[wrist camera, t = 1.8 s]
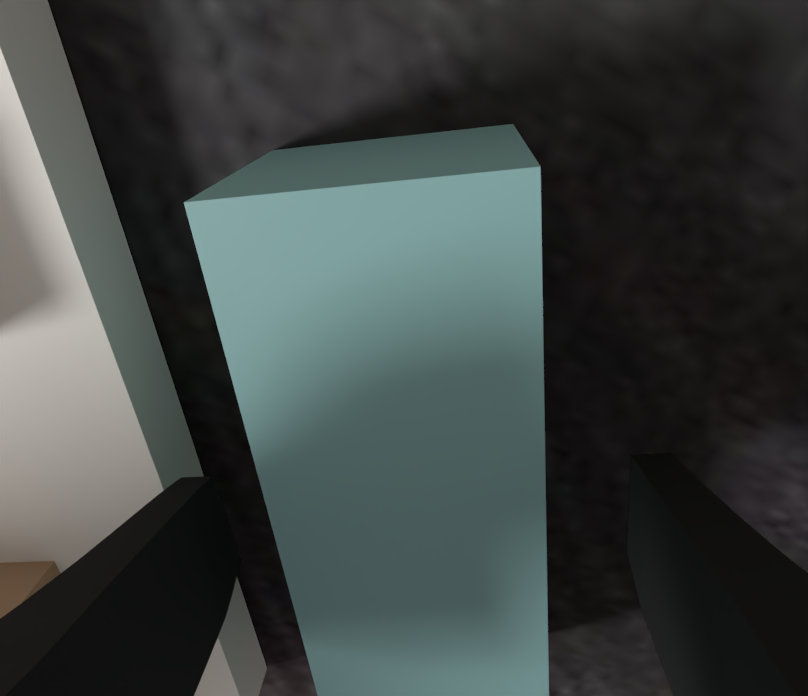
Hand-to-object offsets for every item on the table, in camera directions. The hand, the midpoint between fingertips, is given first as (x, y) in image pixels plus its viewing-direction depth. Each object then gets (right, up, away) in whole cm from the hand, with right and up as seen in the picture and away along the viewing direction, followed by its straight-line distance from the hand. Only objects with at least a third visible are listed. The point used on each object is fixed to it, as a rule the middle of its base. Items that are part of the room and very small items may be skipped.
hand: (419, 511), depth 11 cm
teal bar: (0, +1, +2) cm, 3 cm away
